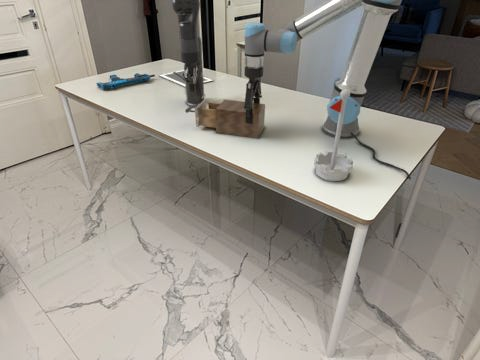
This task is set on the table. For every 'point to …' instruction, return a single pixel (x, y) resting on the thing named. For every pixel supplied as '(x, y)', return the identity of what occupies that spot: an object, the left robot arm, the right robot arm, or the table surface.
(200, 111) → the drawer
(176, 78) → the tablet
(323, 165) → the flag stand
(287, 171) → the table surface
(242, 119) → the cabinet
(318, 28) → the right robot arm
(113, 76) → the submachine gun
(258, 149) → the table surface
